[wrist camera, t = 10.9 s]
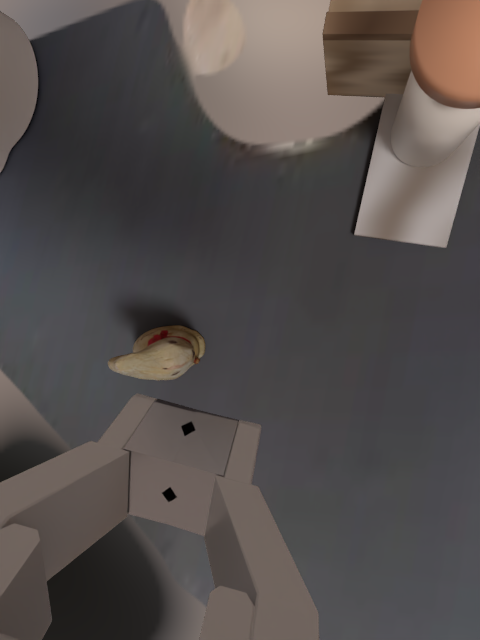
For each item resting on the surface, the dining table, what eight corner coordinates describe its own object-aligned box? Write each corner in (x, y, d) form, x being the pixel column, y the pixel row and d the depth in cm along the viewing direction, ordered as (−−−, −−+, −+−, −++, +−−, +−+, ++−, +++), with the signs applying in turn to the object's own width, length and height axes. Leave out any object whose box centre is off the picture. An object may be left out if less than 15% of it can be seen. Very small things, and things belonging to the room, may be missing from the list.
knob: (375, 169, 27) (400, 90, 15) (394, 87, 26) (437, -68, 14) (459, 177, 26) (558, 95, 14) (482, 90, 25) (613, -81, 13)
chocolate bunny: (200, 385, 35) (147, 426, 26) (136, 354, 37) (65, 382, 28) (217, 336, 34) (168, 361, 25) (150, 307, 36) (81, 319, 26)
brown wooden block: (301, 227, 30) (288, 213, 23) (349, -17, 27) (351, -122, 20) (508, 257, 26) (570, 251, 19) (596, -26, 23) (713, -165, 16)
